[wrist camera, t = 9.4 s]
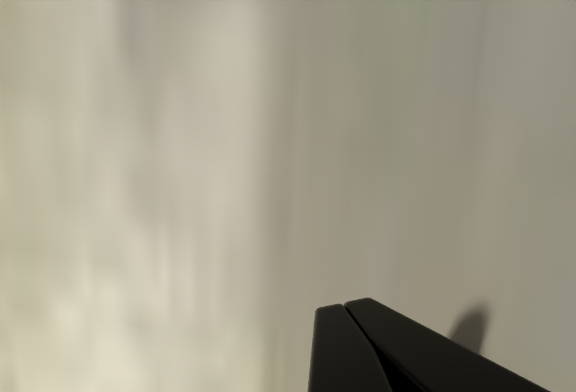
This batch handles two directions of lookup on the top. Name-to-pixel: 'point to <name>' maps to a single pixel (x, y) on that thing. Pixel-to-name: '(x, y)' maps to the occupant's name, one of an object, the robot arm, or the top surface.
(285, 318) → the top surface
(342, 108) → the top surface
